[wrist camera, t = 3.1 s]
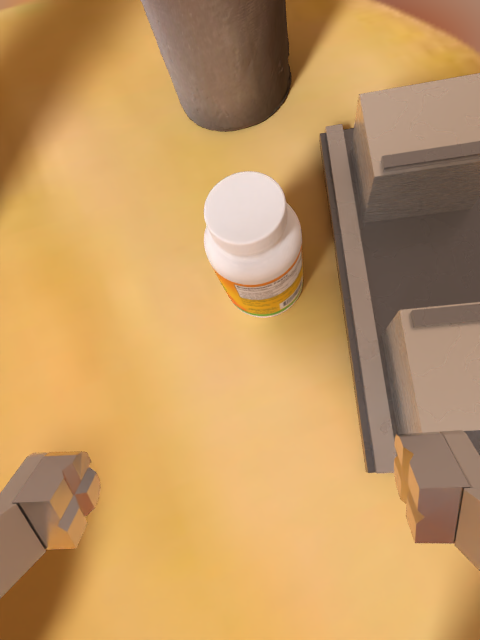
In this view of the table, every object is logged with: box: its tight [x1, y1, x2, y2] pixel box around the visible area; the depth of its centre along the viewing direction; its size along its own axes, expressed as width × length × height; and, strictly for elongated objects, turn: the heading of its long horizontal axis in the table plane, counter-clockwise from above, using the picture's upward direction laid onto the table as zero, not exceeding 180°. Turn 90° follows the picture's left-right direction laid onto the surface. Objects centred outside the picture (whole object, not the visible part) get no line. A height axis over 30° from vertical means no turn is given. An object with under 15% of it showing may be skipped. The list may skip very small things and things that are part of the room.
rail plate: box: [320, 73, 480, 473], centre depth 23 cm, size 24×11×6 cm, turn 3°
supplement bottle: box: [204, 171, 303, 318], centre depth 23 cm, size 5×5×10 cm
